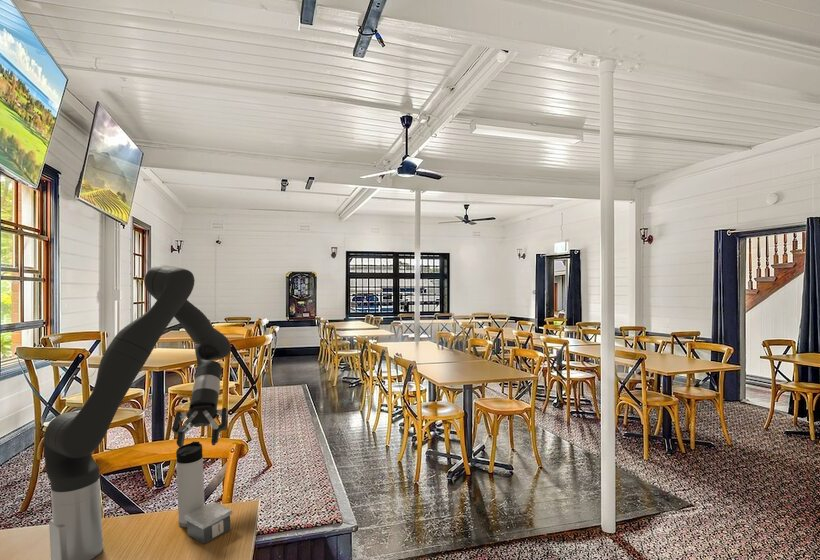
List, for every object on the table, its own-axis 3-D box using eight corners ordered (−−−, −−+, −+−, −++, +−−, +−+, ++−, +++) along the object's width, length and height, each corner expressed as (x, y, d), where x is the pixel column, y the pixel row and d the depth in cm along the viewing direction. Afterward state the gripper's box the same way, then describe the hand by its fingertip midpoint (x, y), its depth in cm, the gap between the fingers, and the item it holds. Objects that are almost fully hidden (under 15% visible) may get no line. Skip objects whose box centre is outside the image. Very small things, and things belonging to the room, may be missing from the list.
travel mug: (210, 514, 124) (207, 441, 124) (196, 528, 118) (193, 451, 117) (188, 513, 125) (185, 440, 124) (173, 527, 119) (170, 450, 118)
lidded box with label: (203, 545, 110) (202, 525, 110) (185, 535, 115) (184, 515, 115) (232, 529, 117) (232, 510, 117) (214, 520, 122) (213, 501, 121)
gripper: (177, 388, 135) (165, 442, 124) (228, 385, 138) (221, 437, 127) (183, 401, 140) (172, 453, 129) (232, 398, 143) (226, 448, 132)
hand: (197, 445), depth 128 cm, fingers open, 8 cm apart
